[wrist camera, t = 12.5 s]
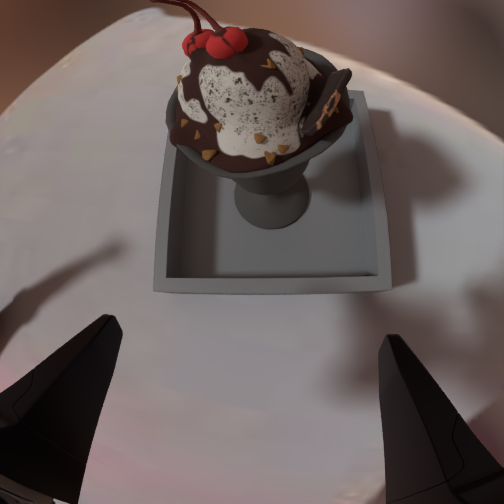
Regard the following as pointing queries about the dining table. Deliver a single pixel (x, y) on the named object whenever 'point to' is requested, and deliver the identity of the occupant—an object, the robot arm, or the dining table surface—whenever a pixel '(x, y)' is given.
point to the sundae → (256, 114)
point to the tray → (283, 239)
